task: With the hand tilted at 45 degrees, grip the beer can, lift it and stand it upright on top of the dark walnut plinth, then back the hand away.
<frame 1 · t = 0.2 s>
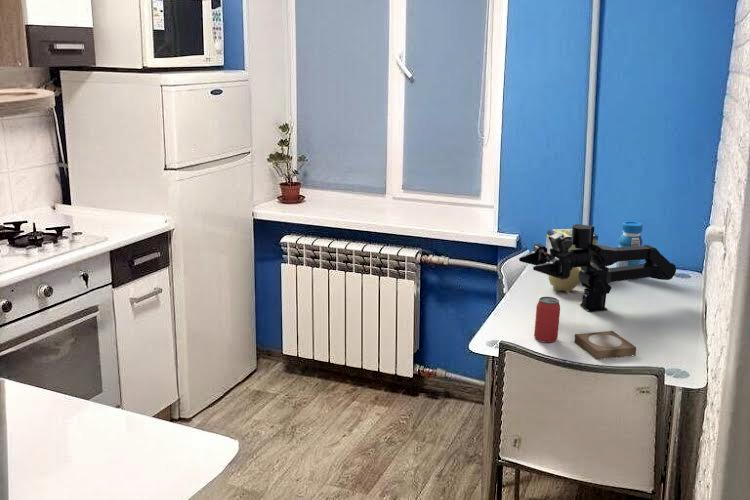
hand: (526, 263, 234), 17 cm above the table, tool horizontal, fingers open, 9 cm apart
protein box: (568, 273, 281), on the table
beer can: (545, 339, 220), on the table
beverage bottle: (626, 277, 278), on the table
toy pig: (565, 291, 261), on the table
plinth: (604, 348, 214), on the table
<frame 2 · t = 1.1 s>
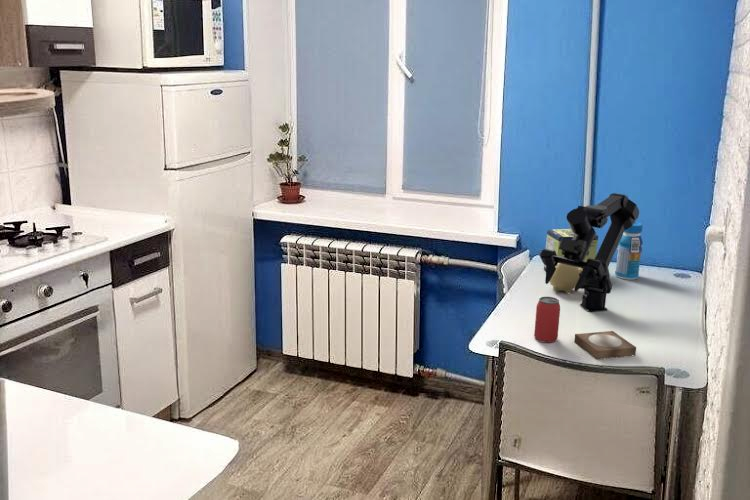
hand: (560, 286, 222), 14 cm above the table, tool tilted 45°, fingers open, 9 cm apart
nothing on the table moved.
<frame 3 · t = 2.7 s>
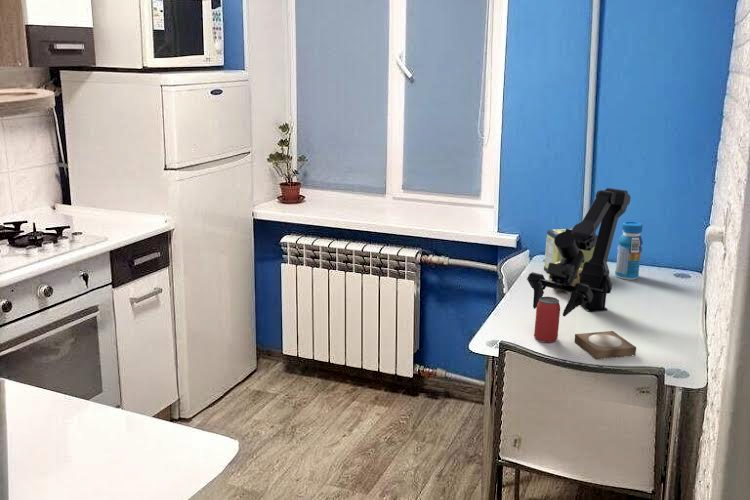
hand: (548, 311, 218), 8 cm above the table, tool tilted 45°, fingers open, 9 cm apart
nothing on the table moved.
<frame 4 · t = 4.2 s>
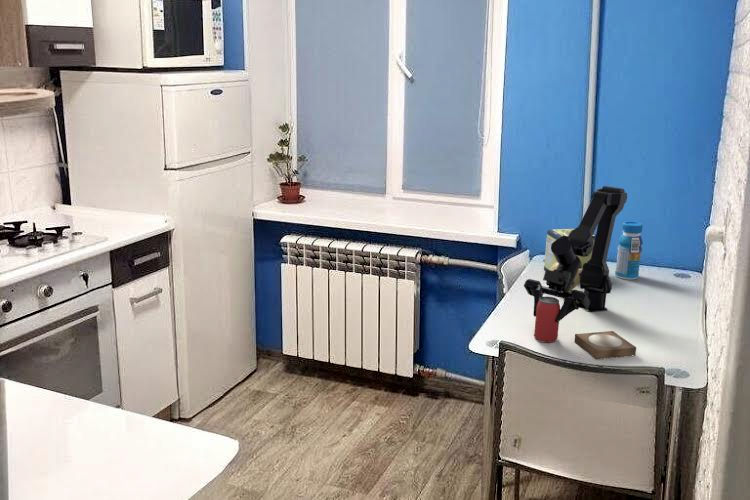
hand: (545, 318, 217), 7 cm above the table, tool tilted 45°, fingers closed on beer can, 6 cm apart
beer can: (545, 339, 220), on the table, touching gripper
everything else where it was.
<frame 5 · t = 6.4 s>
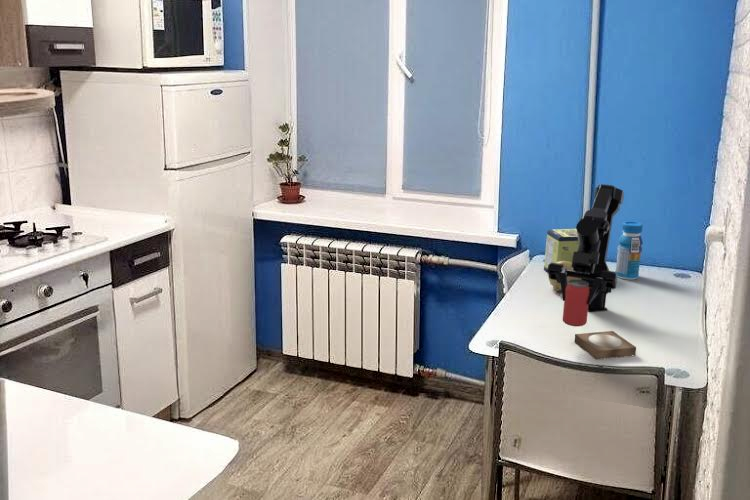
hand: (575, 302, 212), 13 cm above the table, tool tilted 45°, fingers closed on beer can, 6 cm apart
beer can: (574, 323, 215), point 6 cm above the table, touching gripper
everything else where it was.
when the fingers open (10 cm above the table, at t = 8.6 s): beer can drops 1 cm, resting on plinth.
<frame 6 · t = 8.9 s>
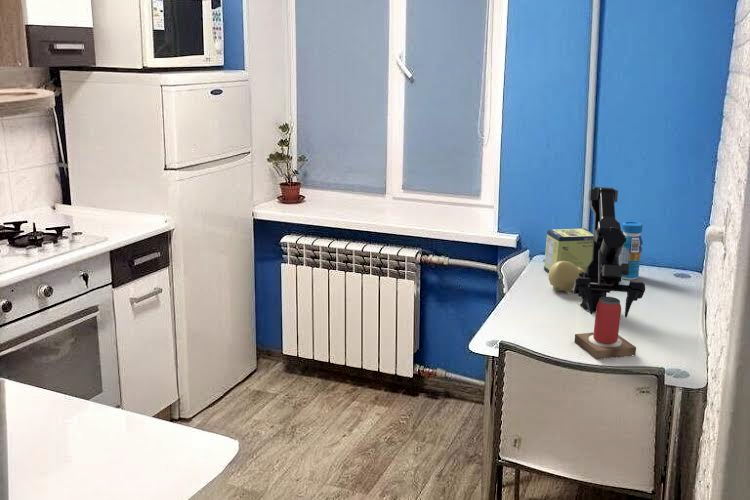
hand: (608, 315, 210), 11 cm above the table, tool tilted 45°, fingers open, 9 cm apart
beer can: (605, 340, 214), point 2 cm above the table, touching plinth
everything else where it was.
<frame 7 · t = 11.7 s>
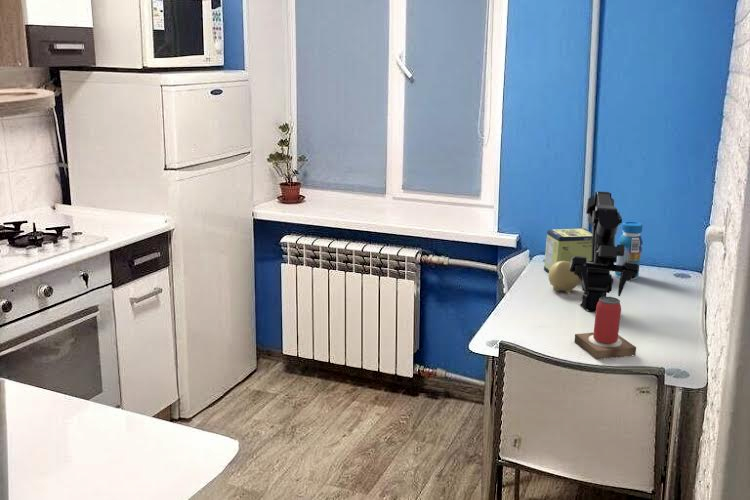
hand: (602, 294, 218), 13 cm above the table, tool tilted 45°, fingers open, 9 cm apart
nothing on the table moved.
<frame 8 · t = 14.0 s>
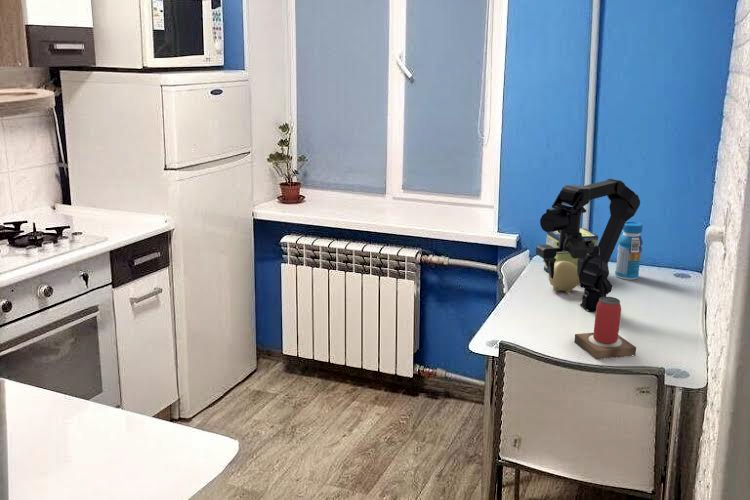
hand: (565, 277, 234), 13 cm above the table, tool pointing down, fingers open, 9 cm apart
nothing on the table moved.
at the end: beer can inside the target area on the plinth (0.1 cm from its centre), point 2.4 cm above the plinth's base; beer can tilted 0°; the gripper is holding nothing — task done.
